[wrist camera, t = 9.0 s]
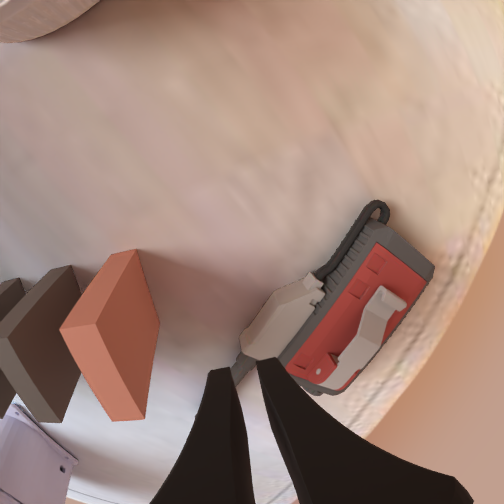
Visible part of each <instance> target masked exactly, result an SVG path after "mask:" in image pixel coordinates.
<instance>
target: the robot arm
mask: <svg viewBox="0 0 504 504" xmlns="http://www.w3.org/2000/svg"><path fill="white" fill-rule="evenodd" d="M256 365H257V370H258V375H259V379H260V384H261V389H262V393H263V398H264V402H265V406H266V410H267V414H268V418H269V422H270V425H271V429H272V432H273V434H274V437H275V439H276V442H277V444H278V447H279V450H280V452H281V455H282V457H283V459H284V462H285V464H286V467H287V469H288V472H289V474H290V477H291V479H292V482H293V484H294V487H295V490H296V493H297V496H298V500H299V503H300V504H473V502H474V500H473V499H472V497H471V496H470V494H469V493H468V491H467V490H466V489H465V488H464V487H463V486H462V485H461V484H460V483H459V482H458V480H456V478H455V477H453V476H449V475H445V474H442V473H438V472H435V471H432V470H429V469H426V468H423V467H420V466H418V465H415V464H413V463H410V462H408V461H405V460H403V459H400V458H398V457H396V456H394V455H392V454H390V453H388V452H386V451H384V450H382V449H380V448H379V447H376V446H375V445H373V444H371V443H369V442H368V441H366V440H365V439H363V438H361V437H360V436H358V435H357V434H355V433H354V432H352V431H351V430H349V429H348V428H346V427H345V426H344V425H342V424H341V423H340V422H338V421H337V420H336V419H335V418H333V417H332V416H331V415H330V414H328V413H327V412H326V411H325V410H324V409H323V408H321V407H320V406H319V405H318V404H317V403H316V402H315V401H314V400H313V399H312V398H311V397H310V396H309V395H308V394H307V393H306V392H305V391H304V390H303V389H302V388H301V387H300V386H299V385H298V384H297V383H296V381H295V380H294V379H293V378H292V377H291V376H290V374H289V373H288V372H287V371H286V369H285V368H284V367H283V365H282V364H281V362H280V360H279V359H278V358H276V357H272V358H268V359H263V360H259V361H256ZM74 465H78V460H76V459H75V458H74V457H73V456H71V455H70V454H69V453H68V452H66V451H65V450H64V449H63V448H62V447H60V446H59V445H58V444H57V443H56V442H54V441H53V440H52V439H51V438H50V437H49V436H48V435H46V434H45V433H44V432H43V431H42V430H41V429H40V428H39V427H38V426H37V425H36V424H35V423H33V422H32V421H31V420H30V419H29V418H28V417H27V416H26V415H25V414H24V413H23V412H22V411H21V410H20V409H19V408H18V407H17V406H16V405H15V404H10V406H9V408H8V410H7V412H6V414H5V416H4V418H3V419H0V504H65V499H66V495H67V490H68V486H69V481H70V477H71V473H72V469H73V466H74ZM149 504H256V503H255V499H254V492H253V485H252V476H251V466H250V457H249V447H248V437H247V431H246V426H245V422H244V417H243V412H242V408H241V404H240V401H239V398H238V394H237V391H236V387H235V384H234V380H233V377H232V373H231V370H230V367H226V368H221V369H216V370H211V371H210V372H209V373H208V377H207V382H206V386H205V390H204V394H203V397H202V401H201V404H200V407H199V410H198V413H197V416H196V418H195V421H194V424H193V426H192V429H191V431H190V434H189V436H188V438H187V441H186V443H185V445H184V447H183V449H182V451H181V453H180V455H179V457H178V459H177V461H176V463H175V465H174V467H173V468H172V470H171V472H170V474H169V475H168V477H167V479H166V480H165V482H164V483H163V485H162V486H161V488H160V489H159V491H158V492H157V494H156V495H155V497H154V498H153V499H152V501H151V502H150V503H149Z"/></svg>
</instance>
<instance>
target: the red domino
mask: <svg viewBox="0 0 504 504" xmlns="http://www.w3.org/2000/svg"><path fill="white" fill-rule="evenodd" d="M159 326H160V322H159V319H158V316H157V313H156V310H155V307H154V304H153V301H152V298H151V295H150V292H149V289H148V286H147V283H146V280H145V276H144V273H143V270H142V267H141V263H140V260H139V257H138V253H137V250H136V249H133V250H129V251H125V252H120V253H116V254H111V256H110V257H109V258H108V260H107V261H106V262H105V264H104V265H103V266H102V268H101V269H100V270H99V272H98V273H97V275H96V276H95V277H94V279H93V280H92V281H91V283H90V284H89V286H88V287H87V288H86V290H85V291H84V293H83V294H82V296H81V297H80V299H79V300H78V301H77V303H76V304H75V306H74V307H73V309H72V310H71V312H70V313H69V315H68V316H67V318H66V319H65V321H64V323H63V324H62V326H61V327H60V329H59V330H60V332H61V334H62V336H63V338H64V340H65V342H66V344H67V346H68V348H69V350H70V352H71V354H72V356H73V358H74V360H75V362H76V363H77V365H78V367H79V369H80V371H81V372H82V374H83V376H84V378H85V379H86V381H87V383H88V384H89V386H90V388H91V389H92V391H93V393H94V394H95V396H96V397H97V399H98V401H99V402H100V404H101V405H102V407H103V408H104V410H105V411H106V413H107V414H108V416H109V417H110V419H111V420H112V422H114V421H130V420H142V419H145V414H146V407H147V399H148V392H149V385H150V379H151V372H152V366H153V360H154V354H155V348H156V342H157V337H158V331H159Z"/></svg>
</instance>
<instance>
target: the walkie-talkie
mask: <svg viewBox="0 0 504 504" xmlns="http://www.w3.org/2000/svg"><path fill="white" fill-rule="evenodd" d="M377 208H380V210H381V213H380V217H379V218H378V220H377V221H376V220H374V219H372V218H370V216H371V214H372V213H373V212H374V211H375V210H376V209H377ZM389 217H390V209H389V208H388V206H387V205H386V203H385V202H382V201H379V200H373V201H371V202H370V203H369V204H368V205H366V206H365V207H364V209H363V210H362V212H361V214H360V215H359V217H358V218H357V220H355V223H354V224H353V226H351V229H350V231H349V232H348V233H347V234H346V237H345V238H344V240H343V241H342V242H341V244H340V246H339V247H338V248H337V249H336V252H335V253H334V255H332V257H331V259H330V260H329V261H328V262H327V264H326V265H324V266H322V267H321V268H319V269H318V270H317V271H316V272H315V273H314V274H313V273H311V272H309V273H308V274H307V276H306V277H305V278H303V279H301V280H298V281H296V282H294V283H291V284H289V285H287V286H284V287H282V288H280V289H277V290H275V291H274V292H273V293H272V295H271V296H270V297H269V299H268V300H267V302H266V303H265V305H264V306H263V307H262V309H261V310H260V312H259V313H258V315H257V316H256V317H255V319H254V320H253V322H252V323H251V324H250V326H249V327H248V328H245V329H244V331H243V332H242V333H241V335H240V336H239V340H240V345H241V350H242V351H241V353H240V354H239V355H238V357H237V358H236V361H237V362H236V363H235V364H234V366H233V367H232V368H231V373H232V377H233V380H234V384H235V387H236V386H237V385H238V384H239V383H240V381H241V380H242V379H243V378H244V376H245V375H246V374H247V373H248V371H249V370H252V369H253V368H254V367H255V365H256V361H259V360H263V359H268V358H272V357H276V358H278V359H279V360H280V362H281V364H282V365H283V367H284V368H285V369H286V371H287V372H288V373H289V374H290V376H291V377H292V378H293V379H294V380H295V381H296V383H297V384H298V385H300V386H302V387H303V388H304V389H305V390H306V391H307V392H309V393H310V394H312V395H314V396H321V395H322V394H323V393H326V394H329V395H332V396H333V395H338V394H340V393H342V392H344V391H345V390H346V389H347V388H348V387H349V386H350V384H351V383H352V382H353V381H354V380H355V379H356V378H357V377H358V375H359V374H360V373H361V372H362V371H363V370H364V369H365V367H366V366H367V365H368V364H369V363H370V362H371V360H372V359H373V358H374V357H375V356H376V354H377V353H378V352H379V351H380V349H381V348H382V346H383V345H384V344H385V343H386V342H387V340H388V339H389V337H391V336H392V334H393V332H394V331H395V330H396V328H397V327H398V326H399V325H400V324H401V322H402V320H403V319H404V318H405V317H406V315H407V314H408V312H410V310H411V308H412V307H413V305H415V302H416V301H417V300H418V299H419V297H420V295H421V294H422V292H424V289H425V288H426V286H427V285H428V284H429V282H430V280H431V279H432V278H433V273H434V269H435V266H434V265H433V264H432V263H431V262H430V261H429V260H427V259H426V258H425V257H424V256H423V255H422V254H421V253H420V252H418V251H417V250H416V249H415V248H414V247H413V246H412V245H410V244H409V243H408V242H407V241H406V240H405V239H403V238H402V237H401V236H400V235H399V234H398V233H396V232H395V231H394V230H393V229H391V228H390V227H388V226H386V224H387V222H388V220H389ZM196 416H197V414H196ZM196 416H195V418H196Z"/></svg>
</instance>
